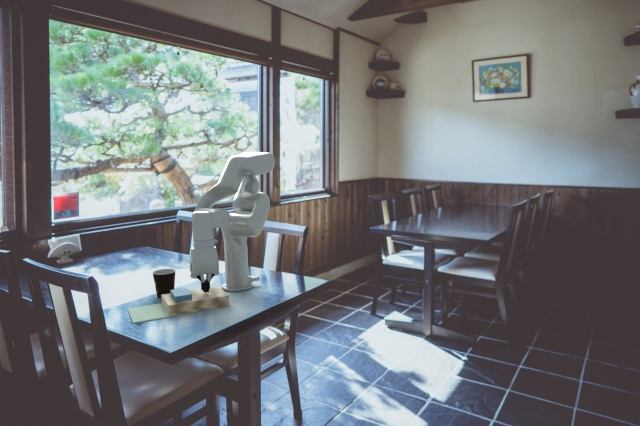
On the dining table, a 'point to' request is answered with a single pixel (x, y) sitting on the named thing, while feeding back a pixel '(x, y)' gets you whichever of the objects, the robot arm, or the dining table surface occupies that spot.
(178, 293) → the blue rectangular block
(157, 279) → the coffee mug
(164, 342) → the dining table surface
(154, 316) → the mat
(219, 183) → the robot arm
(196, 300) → the beige wood-grain panel
